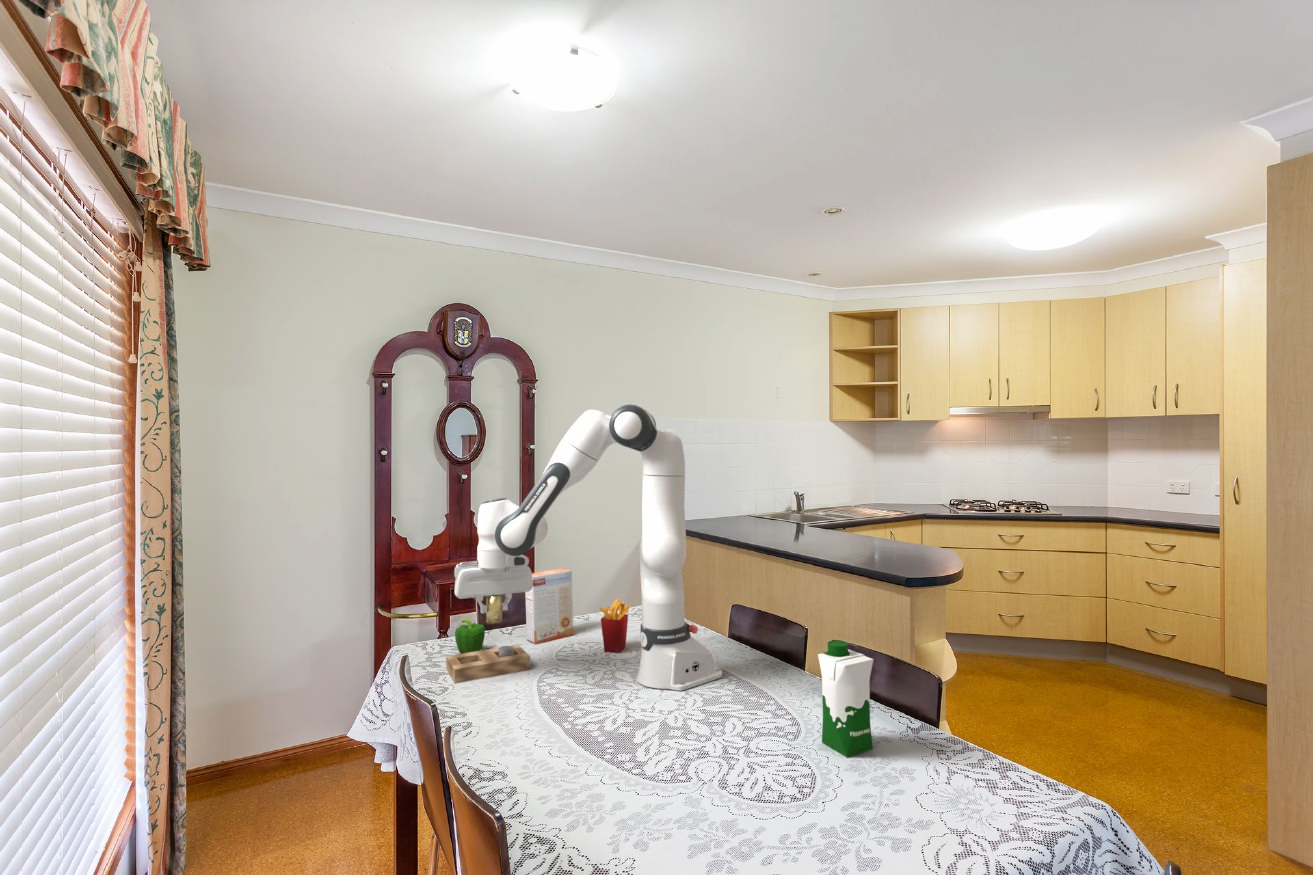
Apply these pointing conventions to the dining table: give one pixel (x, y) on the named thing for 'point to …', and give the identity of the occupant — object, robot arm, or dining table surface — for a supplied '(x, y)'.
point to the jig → (487, 663)
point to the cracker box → (549, 606)
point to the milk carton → (846, 699)
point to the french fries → (615, 627)
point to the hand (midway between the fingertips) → (494, 611)
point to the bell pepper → (469, 637)
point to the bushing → (494, 609)
